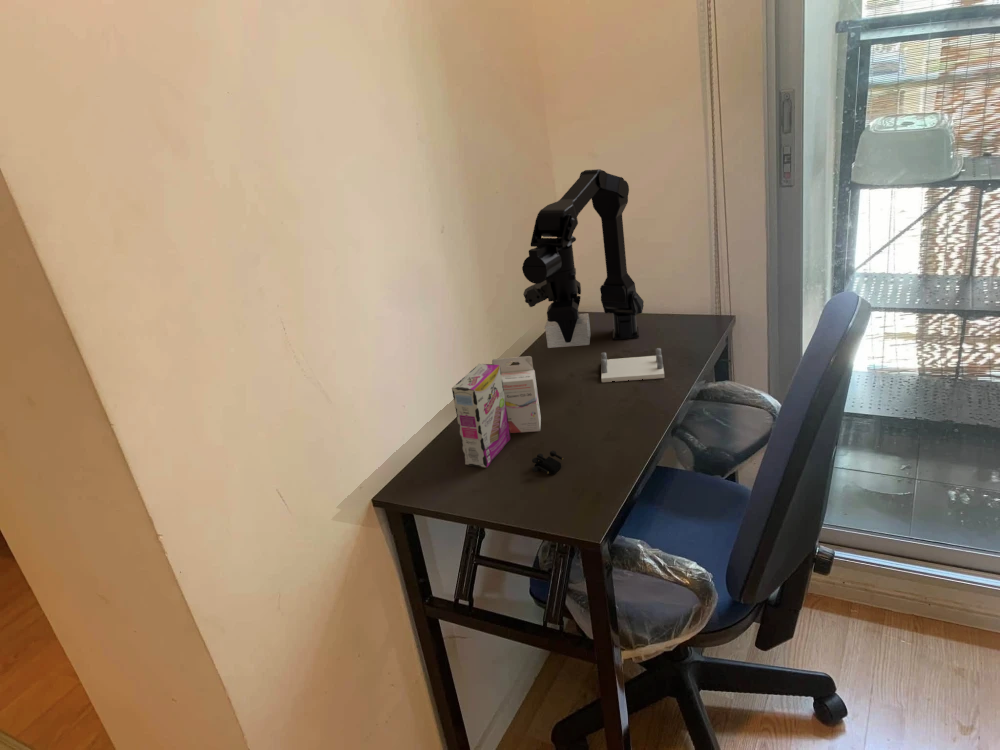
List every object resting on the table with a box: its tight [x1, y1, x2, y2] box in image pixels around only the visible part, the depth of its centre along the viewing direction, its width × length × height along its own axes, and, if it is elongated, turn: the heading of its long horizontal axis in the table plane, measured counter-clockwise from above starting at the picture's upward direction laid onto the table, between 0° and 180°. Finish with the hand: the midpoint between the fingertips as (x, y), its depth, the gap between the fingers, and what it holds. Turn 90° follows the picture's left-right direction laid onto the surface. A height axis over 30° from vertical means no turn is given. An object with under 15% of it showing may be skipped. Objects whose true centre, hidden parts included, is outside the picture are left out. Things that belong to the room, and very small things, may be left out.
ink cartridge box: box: [491, 355, 542, 434], centre depth 138 cm, size 9×5×15 cm, turn 84°
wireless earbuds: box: [531, 450, 564, 475], centre depth 125 cm, size 7×2×5 cm
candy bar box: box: [451, 363, 511, 469], centre depth 131 cm, size 11×5×16 cm, turn 155°
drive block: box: [544, 313, 591, 349], centre depth 152 cm, size 6×9×5 cm, turn 80°
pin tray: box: [600, 347, 665, 383], centre depth 156 cm, size 10×14×4 cm
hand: (569, 336), depth 153 cm, fingers closed on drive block, 6 cm apart
